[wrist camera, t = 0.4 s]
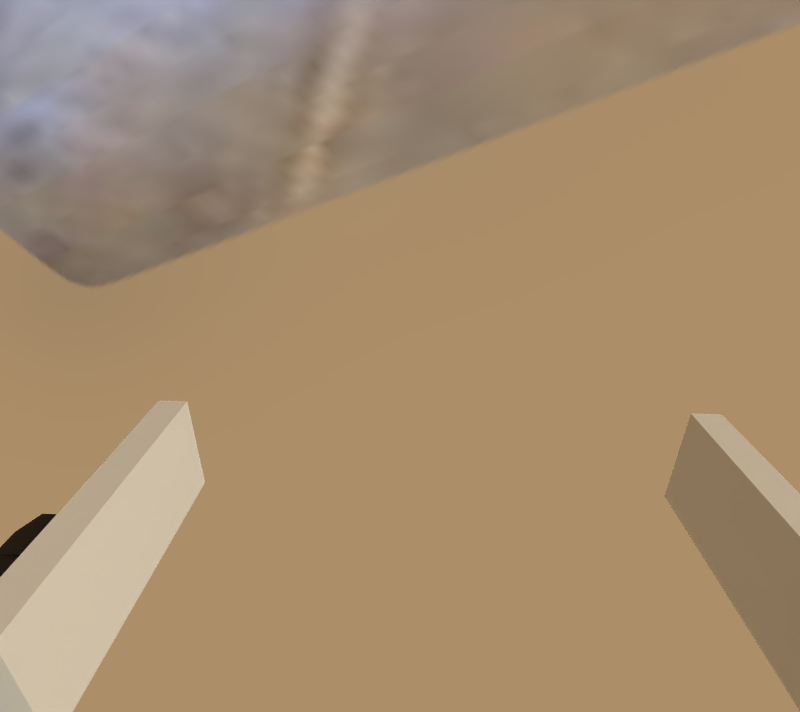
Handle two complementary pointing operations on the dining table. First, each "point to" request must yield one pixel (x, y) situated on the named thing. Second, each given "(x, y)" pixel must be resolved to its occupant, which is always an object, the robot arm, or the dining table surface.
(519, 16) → the dining table surface
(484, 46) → the dining table surface
